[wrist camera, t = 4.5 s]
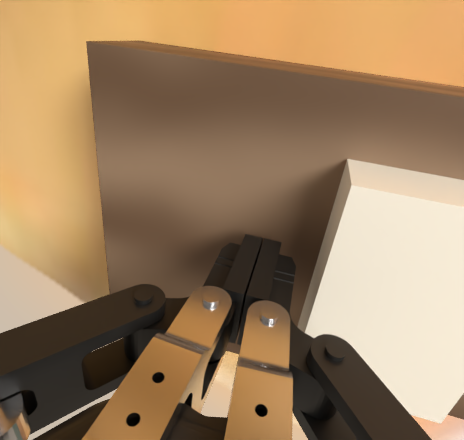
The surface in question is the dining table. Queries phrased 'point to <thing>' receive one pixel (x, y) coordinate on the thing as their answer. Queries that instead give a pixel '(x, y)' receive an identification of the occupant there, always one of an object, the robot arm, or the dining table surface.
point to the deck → (245, 155)
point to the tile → (396, 282)
